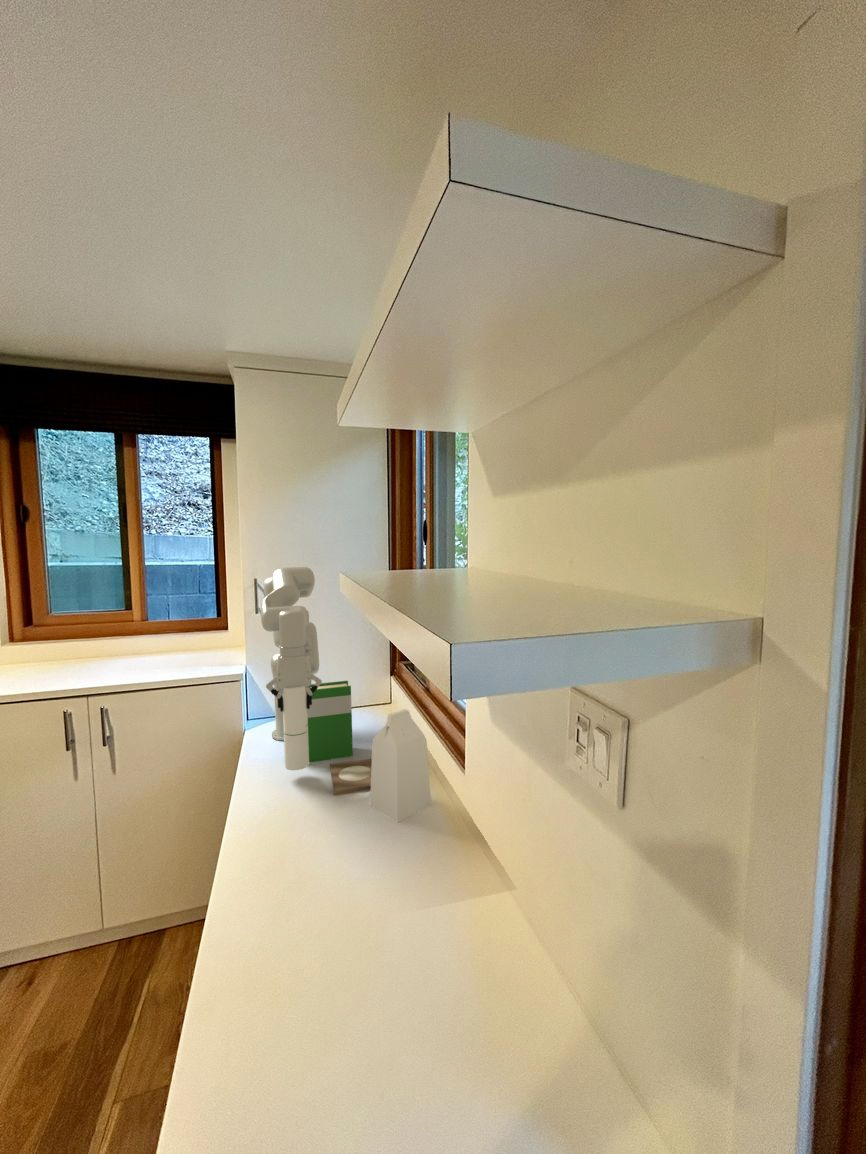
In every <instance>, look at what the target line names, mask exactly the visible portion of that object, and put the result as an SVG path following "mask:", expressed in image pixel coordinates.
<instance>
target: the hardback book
mask: <svg viewBox="0 0 866 1154" xmlns="http://www.w3.org/2000/svg"><path fill="white" fill-rule="evenodd" d="M313 685H315V683H311V686H310V688H312V687H313ZM352 707H353V706H352V685H349V680H341V681H329V682H322V683H321V684H320V686H319V687H318V688H317V690H316V691H315V692H314V693H313V694H312V705H310V709H308V708H307V713H308V744H309V763H314V762H322V761H327V760H328V761H329V760H335V759H341V758H349V757H353V756H354V748H353V747H354V745H353V719H352V718H353V716H352V715H353V712H352V711H353V710H352Z"/></svg>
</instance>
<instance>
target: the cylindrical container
mask: <svg viewBox="0 0 866 1154" xmlns="http://www.w3.org/2000/svg"><path fill="white" fill-rule="evenodd" d="M282 698H283V725H284V741H283V747H284V748H283V749H284V768H285V769H286V770H288V771H299V770H303V769H305V768H308V766H309V765H310V762H309V744H308V713H307V691H306V688H305V687H304V686H303V687H292V688H284V690H283V694H282Z"/></svg>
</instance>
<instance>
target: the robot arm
mask: <svg viewBox="0 0 866 1154" xmlns="http://www.w3.org/2000/svg"><path fill="white" fill-rule="evenodd" d="M315 581H316V580H315V575H314V572H313V570H312V569H311V568H310V567H307V566H293V567H291V566H290V567H280V568H277V569H276V570H275V571H274V572H273V574H272V576H270V577H268V578H266V579H265V580H264V582H263V590H264V591H263V592H264V595H265V597H264V598H263V600H262V602H261V605H260V619H261V620H260V621H261V625H262V628H263V630H265V631H266V632H272V636H273V642H274V645H275V646H276V647H277V648H279V652H278V653H274V654H273V655H272V657H271V659H270V668H271V674H272V679H271V680H270V681H268V683H267V684H266V685H265V688H266V689H267V690H268V691H269V692H270V693H271V694H272V695H273V696H274V712H275V713H274V716H275V717H274V718H275V729H274V730H273V731H272V732H271V738H272V739H273V740H276V741H283V742H284V725H283V698H282V694H283V690H284V688H292V687H303V686H304V687H305V688H306V691H307V708H308V709H310V705H312V694H313V693H314V692H315V691H316V690H317V688H318V687H319V686H320V684H321V683H323V680H322V679H321V678H319V677H318V676H317V675H316V674H318V672H319V670H320V654H319V642H318V632H317V627H316V625H315V624H314V623H313V622H312V621H310V613H309V611H308V610H307V608H306V607H305V606H303V605H296V604H297V602H299V600H300V599H301V598H309V597H310V596H311V595H312V594H313V590H314V588H315ZM312 681H314V684H315V685H313V687H312V688H310V686H311V684H312Z"/></svg>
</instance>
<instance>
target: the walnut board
mask: <svg viewBox="0 0 866 1154" xmlns="http://www.w3.org/2000/svg"><path fill="white" fill-rule="evenodd" d="M371 766H372V758H365V759H357V760H351V761H344V762H343V761H342V762H336V763H330V764H329V768H330V775H331V782H332V788H333V794H334V796H336V795H337V796H338V795H343V794H348V793H349V794H350V793H351V794H352V793H357V792H365V791H371Z"/></svg>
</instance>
